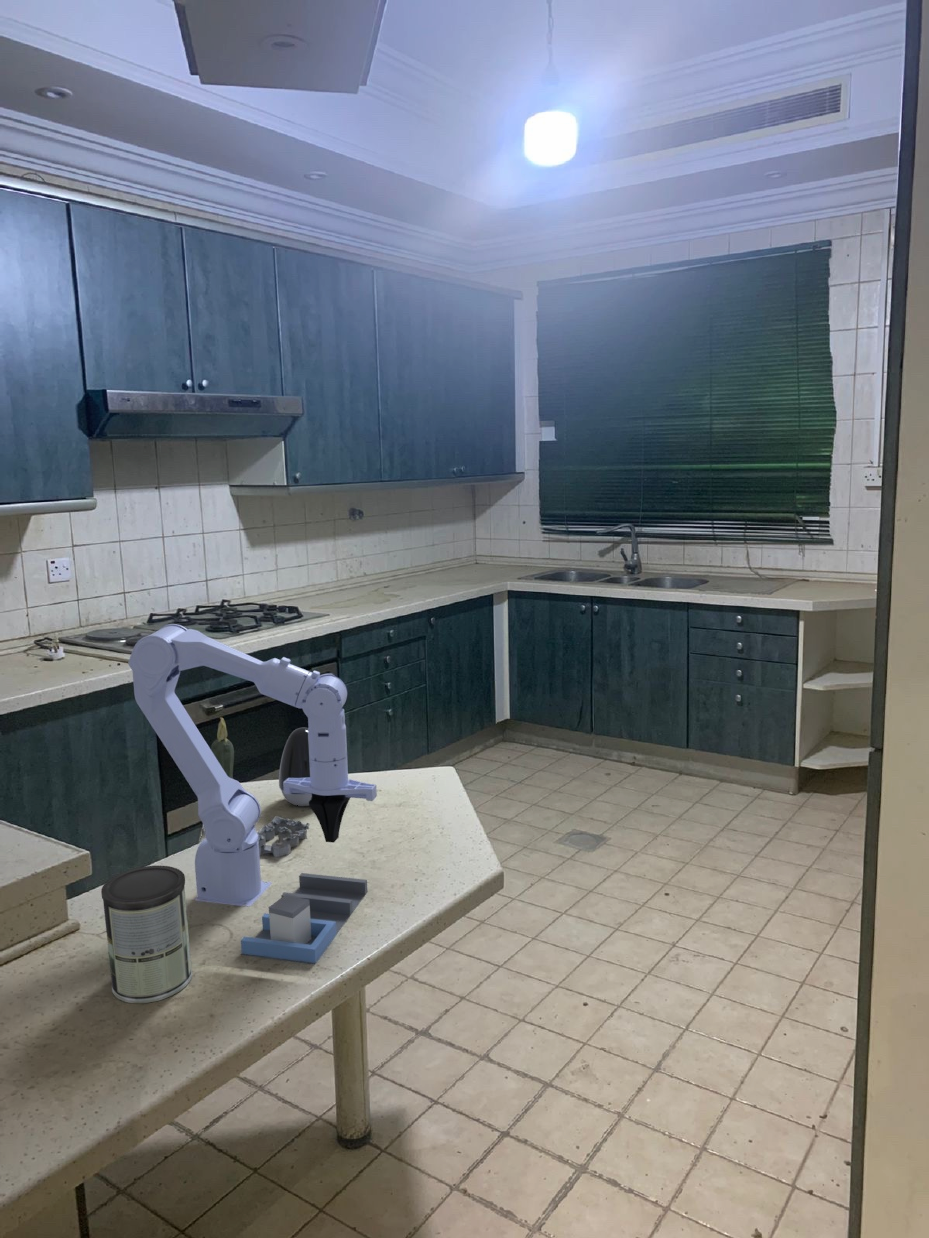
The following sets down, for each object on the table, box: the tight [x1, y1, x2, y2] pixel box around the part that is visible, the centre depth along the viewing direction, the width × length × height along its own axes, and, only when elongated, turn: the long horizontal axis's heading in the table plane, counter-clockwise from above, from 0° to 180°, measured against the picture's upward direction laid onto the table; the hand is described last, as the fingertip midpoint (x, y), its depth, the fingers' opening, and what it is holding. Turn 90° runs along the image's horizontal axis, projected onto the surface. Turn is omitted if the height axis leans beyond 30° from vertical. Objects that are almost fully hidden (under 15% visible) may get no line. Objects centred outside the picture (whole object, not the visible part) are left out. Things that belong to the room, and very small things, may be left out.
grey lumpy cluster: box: [256, 815, 310, 858], centre depth 161 cm, size 11×8×4 cm
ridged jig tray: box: [240, 872, 369, 965], centre depth 135 cm, size 11×21×3 cm, turn 166°
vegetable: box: [210, 717, 235, 779], centre depth 171 cm, size 4×4×20 cm
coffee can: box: [100, 865, 193, 1004], centre depth 120 cm, size 10×10×14 cm
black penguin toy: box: [278, 726, 312, 807], centre depth 180 cm, size 10×10×15 cm
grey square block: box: [268, 895, 311, 944], centre depth 129 cm, size 4×4×6 cm
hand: (332, 839), depth 142 cm, fingers closed
